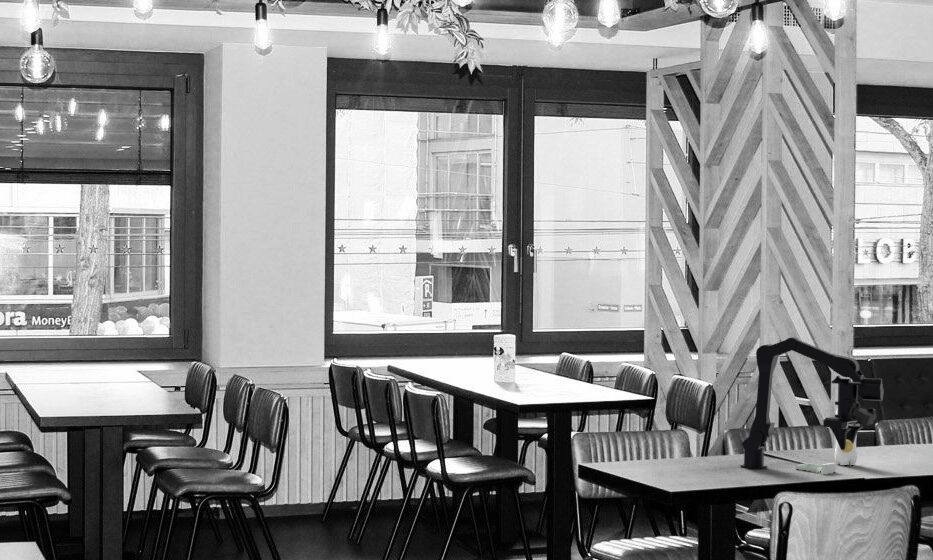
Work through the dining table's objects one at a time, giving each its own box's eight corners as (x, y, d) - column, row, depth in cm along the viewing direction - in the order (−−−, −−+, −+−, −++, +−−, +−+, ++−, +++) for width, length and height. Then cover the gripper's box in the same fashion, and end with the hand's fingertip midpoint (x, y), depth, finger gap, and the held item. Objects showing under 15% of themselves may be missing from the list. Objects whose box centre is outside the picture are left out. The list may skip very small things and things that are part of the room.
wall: (824, 474, 366) (824, 465, 366) (821, 474, 367) (821, 464, 367) (835, 472, 371) (835, 463, 371) (832, 472, 372) (833, 462, 372)
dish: (816, 472, 369) (817, 468, 369) (795, 469, 375) (795, 465, 375) (829, 470, 374) (829, 466, 374) (808, 467, 380) (808, 463, 380)
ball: (848, 453, 360) (849, 440, 360) (837, 452, 363) (837, 439, 363) (855, 452, 363) (855, 439, 363) (843, 451, 366) (844, 438, 366)
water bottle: (858, 467, 383) (860, 390, 383) (835, 466, 384) (837, 389, 384) (855, 463, 390) (857, 388, 390) (833, 462, 391) (835, 387, 391)
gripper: (856, 402, 351) (855, 455, 351) (886, 399, 363) (885, 449, 364) (822, 399, 359) (821, 450, 359) (853, 396, 372) (852, 445, 372)
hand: (846, 449), depth 363 cm, fingers closed on ball, 4 cm apart
